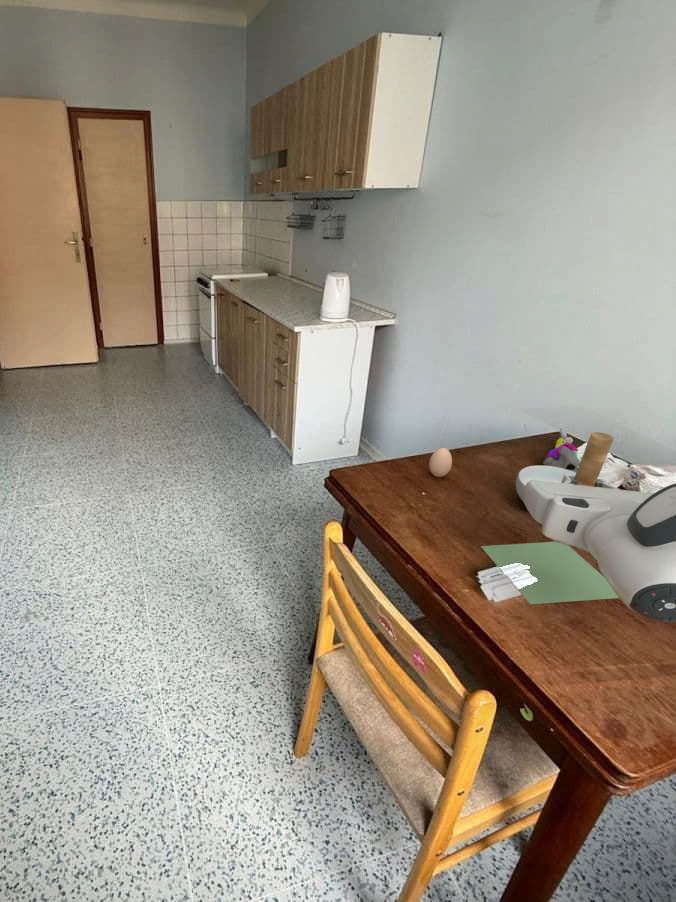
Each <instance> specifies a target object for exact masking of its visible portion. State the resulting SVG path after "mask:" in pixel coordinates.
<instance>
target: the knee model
mask: <svg viewBox="0 0 676 902" xmlns="http://www.w3.org/2000/svg"><path fill="white" fill-rule="evenodd" d="M559 434H560V437H559V438H558V439H557V440H556V442H555V446H554V448H553V449H550V450H549V451H548V453H547V455H546V456H545V459H544V460H543V461H542V464H543V466H553V467H559V468H563V469H567V470H570V471H573V472H577V470H578V467H579V464H580V462H581V461H580V460H579V458H578V454H579V449H578V448H577V447H576V446H575V445H574V444H573V442H574V439H573V438H572V437H571V436H568V435H567V431H566V430H565V429H564V428H563V427H560V428H559Z"/></svg>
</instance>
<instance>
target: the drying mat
mask: <svg viewBox="0 0 676 902" xmlns="http://www.w3.org/2000/svg"><path fill="white" fill-rule="evenodd" d="M480 548H481V549H482V550H483V552H485V553H486V555H487V556H488V557H489V559H491V560H492V562H493V563H494V564H495V565H496V567H497V568H499V567H503V566H506V565H510V564H514V563H521V564H523V565H528V566H530V574H531V575H532V576H534V577H536V578H537V580H538V581H537V582H534V583H533V584H531V585H527V586H525V587H523V588H521V589H517V591H518V592H519V593H520V595H522V597H523V598H524V599H525V600H526V601H527V602H528V604H529V605H536V604H537V605H539V604H551V603H565V602H566V603H567V602H580V601H595V600H609V599H620V598H619V597H618V596H617V595H616V593H615V592H614V591H613V589H612V588H611V586H610V585H609V583H608V582H607V580H606V579H605V577H604V576H603V574H602V573H601V572H599V571H598V570H597V569H596V567H594V566H593V565H591V564H590V563H589V562H588V561H587V560H586V559H584V558H583V556H581V555H580V554H579V553H578V552H577V551H576V550H574V548H572V546H571V545H565V544H561V543H558V542H556V541H542V542H541V541H539V542H526V543H512V544H511V543H510V544H509V543H508V544H495V545H494V544H493V545H480Z"/></svg>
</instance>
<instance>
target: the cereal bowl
mask: <svg viewBox="0 0 676 902" xmlns="http://www.w3.org/2000/svg"><path fill="white" fill-rule="evenodd" d="M564 475H566V476H574V477H575V475H576V472H573V471H570V470H567V469H563V468H559V467H553V466H546V465H529V466H526V467H524V468H522V469H520V470H519V472H518V474H517V476H516V479H515V490H516V493H517V496H518V497H519V498H520V500H521V501H523V499H522V496H523V492H524V488H525V486H526V484H527V482H529V481H530V480H539V481H547V482H556V483H562V479H563V477H564Z"/></svg>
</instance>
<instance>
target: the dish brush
mask: <svg viewBox="0 0 676 902" xmlns="http://www.w3.org/2000/svg"><path fill="white" fill-rule="evenodd" d="M614 439H615V437H613V435H611V434H608V433H605V432H600V431H599V432H598V431H594V432H591V433H590V436H589V438H588V441H587V443H586V446H585V448H584V451H583V454H582V457H581V459H580V461H579V462H580V464H579V466H578V470H577V472H576V475H575V478H576V479H577V483H576V484H575V485H583V486H592V487H594V486H595V484H596V481H597V479H599V476H600V474H601V472H602V469H603V466H604V464H605V461H606V459H607V458H608V455H609V451H610V449H611V446H612V444H613V442H614ZM550 539H551V540H552V541H553V542H558V543H561V544H565V545H569V546H570V547H572V546H573V545H570V544H568V543H565V542H562V541H558V540H555V539H552V538H550ZM573 547H574V546H573Z"/></svg>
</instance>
